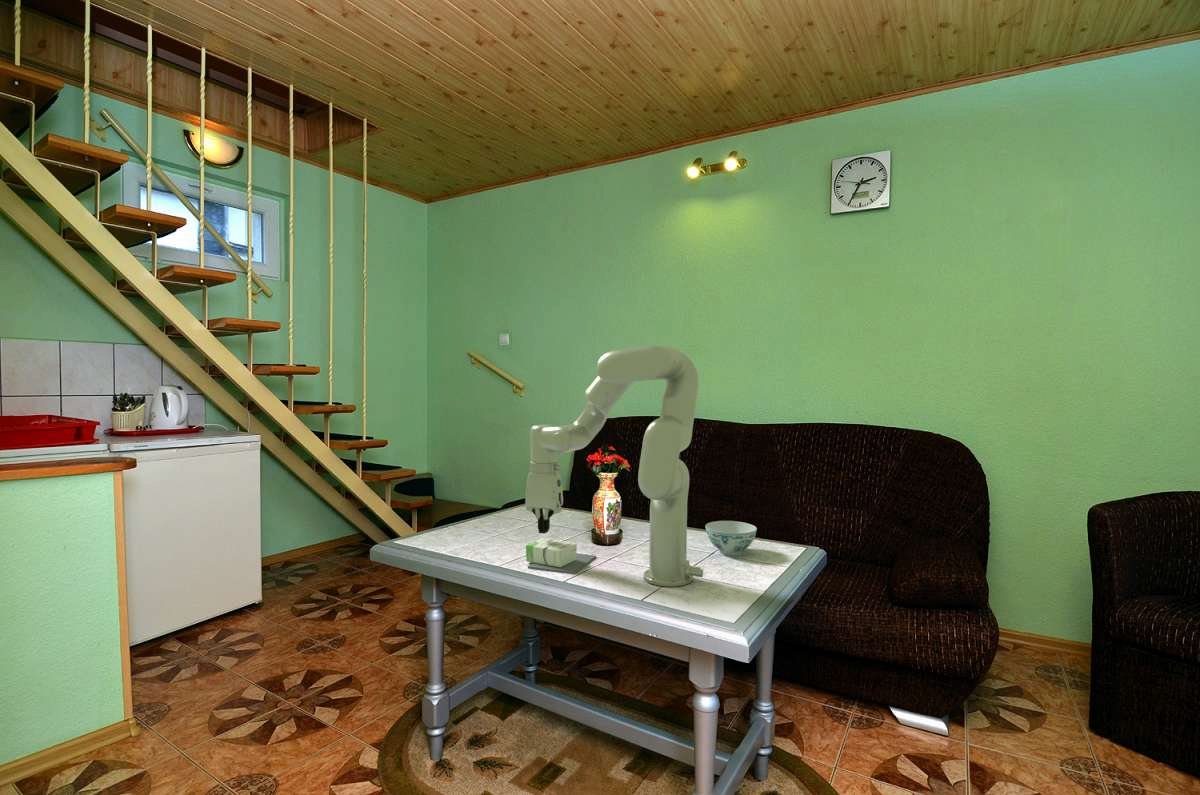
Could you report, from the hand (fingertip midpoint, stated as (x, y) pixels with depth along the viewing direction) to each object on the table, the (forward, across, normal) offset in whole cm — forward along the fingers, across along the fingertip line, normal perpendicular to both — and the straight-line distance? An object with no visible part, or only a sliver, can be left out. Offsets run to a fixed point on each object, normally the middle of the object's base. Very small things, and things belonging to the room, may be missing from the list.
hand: (543, 532), depth 167 cm
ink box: (+5, +3, 0) cm, 6 cm away
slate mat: (+8, -6, 0) cm, 10 cm away
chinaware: (+8, -49, -27) cm, 57 cm away
